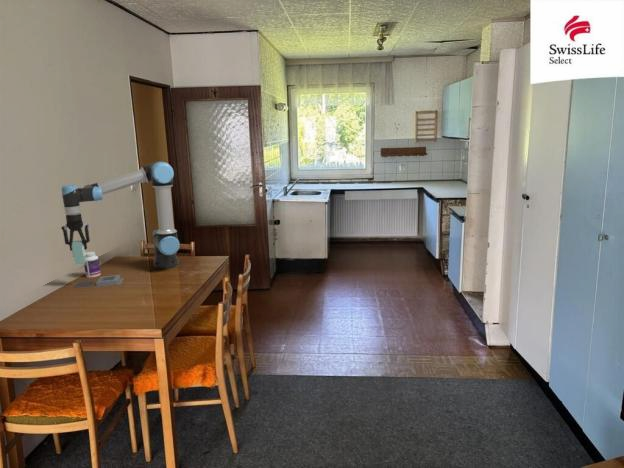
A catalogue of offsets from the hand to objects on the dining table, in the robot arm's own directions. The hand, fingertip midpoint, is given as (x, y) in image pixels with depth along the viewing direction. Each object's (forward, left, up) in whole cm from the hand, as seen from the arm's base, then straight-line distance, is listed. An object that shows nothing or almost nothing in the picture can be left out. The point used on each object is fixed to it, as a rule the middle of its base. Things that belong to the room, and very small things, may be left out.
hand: (79, 255), depth 257 cm
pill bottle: (-1, -17, -17) cm, 24 cm away
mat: (0, 0, -17) cm, 17 cm away
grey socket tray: (-13, +1, -17) cm, 22 cm away
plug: (0, 0, -4) cm, 4 cm away
